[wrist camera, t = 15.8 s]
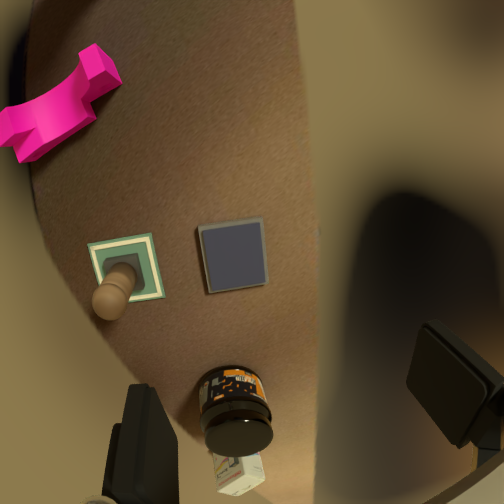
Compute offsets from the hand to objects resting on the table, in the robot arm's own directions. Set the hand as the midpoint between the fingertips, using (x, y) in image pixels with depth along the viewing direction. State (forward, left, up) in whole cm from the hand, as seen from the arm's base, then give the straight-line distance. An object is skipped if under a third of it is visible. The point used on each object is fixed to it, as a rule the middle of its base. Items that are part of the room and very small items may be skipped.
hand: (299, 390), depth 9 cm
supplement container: (+29, -3, -31) cm, 42 cm away
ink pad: (+6, +1, -30) cm, 31 cm away
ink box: (+45, -5, -31) cm, 55 cm away
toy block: (-16, -18, -31) cm, 39 cm away
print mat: (+6, -14, -30) cm, 34 cm away
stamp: (+6, -14, -30) cm, 34 cm away
